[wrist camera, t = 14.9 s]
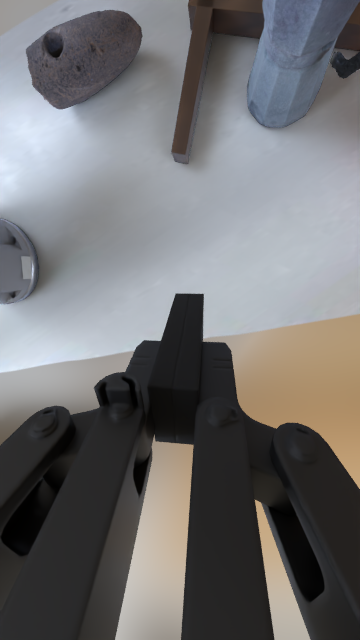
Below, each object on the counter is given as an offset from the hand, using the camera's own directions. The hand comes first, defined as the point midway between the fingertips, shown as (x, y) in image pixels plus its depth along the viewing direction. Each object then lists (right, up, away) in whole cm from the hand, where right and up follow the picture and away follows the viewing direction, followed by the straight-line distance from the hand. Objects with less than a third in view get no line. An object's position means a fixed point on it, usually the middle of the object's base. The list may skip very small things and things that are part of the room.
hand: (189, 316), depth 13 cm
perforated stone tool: (-12, +34, +20) cm, 42 cm away
